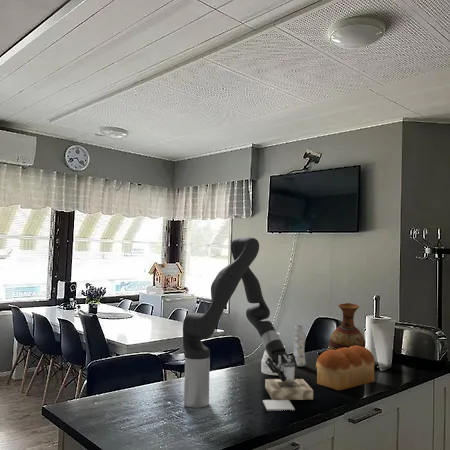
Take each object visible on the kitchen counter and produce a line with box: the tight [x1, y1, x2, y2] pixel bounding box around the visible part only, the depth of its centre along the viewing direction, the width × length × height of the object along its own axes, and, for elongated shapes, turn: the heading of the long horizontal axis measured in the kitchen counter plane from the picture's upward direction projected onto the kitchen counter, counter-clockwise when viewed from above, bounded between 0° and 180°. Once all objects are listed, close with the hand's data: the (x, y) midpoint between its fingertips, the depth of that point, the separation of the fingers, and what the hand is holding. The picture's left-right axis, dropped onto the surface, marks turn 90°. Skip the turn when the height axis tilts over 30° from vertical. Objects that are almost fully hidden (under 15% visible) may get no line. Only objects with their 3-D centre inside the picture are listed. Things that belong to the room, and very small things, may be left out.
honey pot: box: [261, 332, 286, 376], centre depth 219 cm, size 13×13×18 cm
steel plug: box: [282, 362, 296, 388], centre depth 185 cm, size 7×7×12 cm
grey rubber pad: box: [262, 399, 296, 412], centre depth 169 cm, size 10×10×1 cm
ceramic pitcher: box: [328, 302, 366, 350], centre depth 248 cm, size 20×20×30 cm
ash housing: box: [264, 378, 314, 401], centre depth 185 cm, size 16×16×4 cm
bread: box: [315, 346, 376, 391], centre depth 202 cm, size 25×12×15 cm, turn 127°
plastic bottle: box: [292, 324, 307, 368], centre depth 230 cm, size 6×7×20 cm
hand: (290, 379), depth 184 cm, fingers closed on steel plug, 5 cm apart
